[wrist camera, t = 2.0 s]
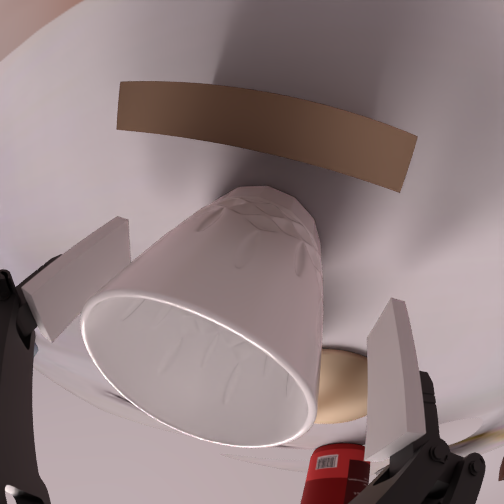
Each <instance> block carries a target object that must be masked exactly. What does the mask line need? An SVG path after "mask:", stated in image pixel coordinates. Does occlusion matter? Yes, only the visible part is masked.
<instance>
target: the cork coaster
mask: <svg viewBox="0 0 504 504" xmlns="http://www.w3.org/2000/svg"><path fill="white" fill-rule="evenodd" d="M367 397H368V363H367V357H365V356H362V355H360V354H356V353H353V352H349V351H343V350H335V349H322V354H321V371H320V386H319V398H318V410H317V417H316V420H315V422H314V423H318V424H334V423H343V422H348V421H352V420H356V419H359V418H361V417H364V416H366V415H367Z"/></svg>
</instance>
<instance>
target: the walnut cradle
mask: <svg viewBox="0 0 504 504" xmlns="http://www.w3.org/2000/svg"><path fill="white" fill-rule="evenodd" d="M117 130H126V131H136V132H146V133H154V134H162V135H170V136H177V137H184V138H190V139H196V140H203V141H208V142H214V143H219V144H225V145H230V146H235V147H240V148H245V149H250V150H254V151H259V152H263V153H268V154H272V155H276V156H280V157H284V158H288V159H292V160H296V161H300V162H304V163H307V164H311V165H315V166H318V167H322V168H325V169H329V170H332V171H336V172H339V173H342V174H345V175H349V176H352V177H355V178H358V179H361V180H364V181H367V182H370V183H373V184H376V185H379V186H382V187H385V188H388V189H390V190H393V191H396V192H399V193H400V191H401V188H402V185H403V182H404V179H405V176H406V173H407V170H408V167H409V164H410V161H411V158H412V155H413V151H414V148H415V144H416V141H417V137H418V136H415V135H413V134H411V133H408V132H406V131H403V130H401V129H398V128H395V127H393V126H390V125H387V124H385V123H382V122H379V121H376V120H373V119H370V118H367V117H364V116H361V115H358V114H355V113H352V112H348V111H345V110H342V109H338V108H335V107H331V106H327V105H324V104H320V103H316V102H312V101H308V100H303V99H299V98H294V97H290V96H285V95H280V94H275V93H269V92H264V91H258V90H251V89H245V88H238V87H230V86H221V85H212V84H201V83H187V82H164V81H127V82H120V90H119V101H118V114H117Z"/></svg>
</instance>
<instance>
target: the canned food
mask: <svg viewBox="0 0 504 504" xmlns="http://www.w3.org/2000/svg"><path fill="white" fill-rule="evenodd" d="M364 454H365V446H362V445H359V444H352V443H338V444H330V445H325V446H322V447H319V448H317V449H316V450H315V451H314V452H313V454H312V456H311V459H310V464H309V469H308V473H307V479H306V483H305V487H304V491H303V496H302V500H301V504H348V503H349V502H351V501H352V500H353V499H354V498H355V497H356V496H357V495H358V494H359V493H360V492H362V491H363V490H364V489H365V488H366V487H367V486H368V484H369V473H370V461H364Z"/></svg>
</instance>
